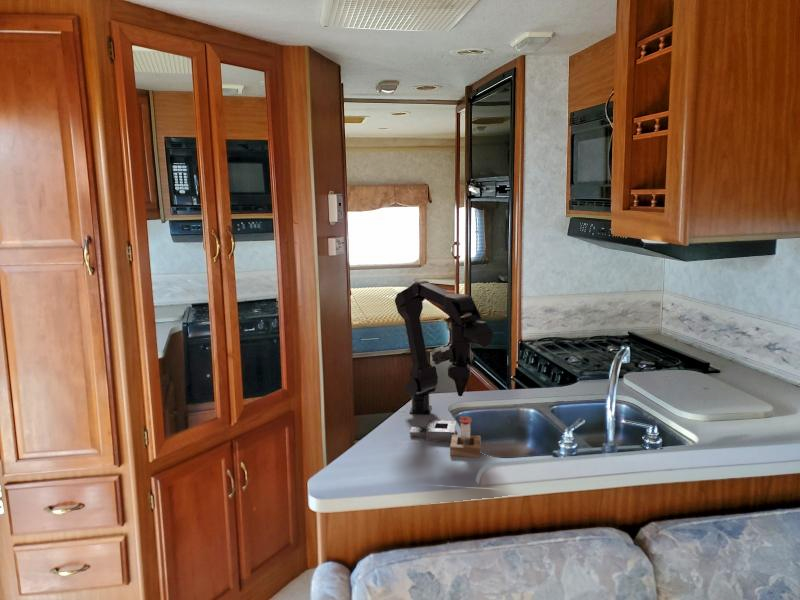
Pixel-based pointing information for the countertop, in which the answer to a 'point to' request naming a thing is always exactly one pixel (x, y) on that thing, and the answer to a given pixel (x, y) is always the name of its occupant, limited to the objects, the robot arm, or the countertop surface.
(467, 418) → the hitch pin
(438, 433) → the block
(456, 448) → the frame
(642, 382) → the countertop surface
